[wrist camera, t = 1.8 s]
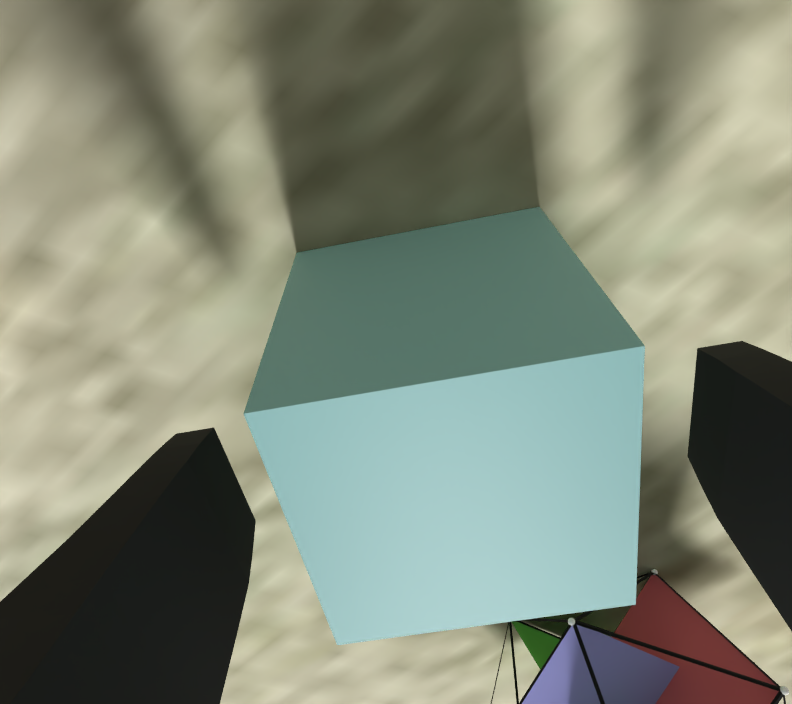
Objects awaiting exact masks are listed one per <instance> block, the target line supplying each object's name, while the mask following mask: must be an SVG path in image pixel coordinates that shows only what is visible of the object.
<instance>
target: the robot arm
mask: <svg viewBox="0 0 792 704" xmlns="http://www.w3.org/2000/svg"><path fill="white" fill-rule="evenodd" d="M688 458H689V460H690V462H691V464H692V467H693V469H694V471H695V473H696V475H697V477H698V479H699V482H700V484H701V486H702V488H703V490H704V492H705V494H706V496H707V498H708V500H709V502H710V504H711V506H712V508H713V510H714V512H715V514H716V516H717V518H718V519H719V521H720V523H721V524H722V526H723V527H724V529H725V530H726V532H727V534H728V535H729V537H730V538H731V540H732V541H733V543H734V544H735V546H736V547H737V549H738V550H739V552H740V554H741V555H742V557H743V558H744V560H745V561H746V563H747V564H748V566H749V567H750V569H751V570H752V572H753V573H754V575H755V576H756V578H757V579H758V581H759V582H760V584H761V585H762V587H763V589H764V590H765V592H766V593H767V595H768V596H769V598H770V599H771V601H772V602H773V604H774V605H775V607H776V608H777V610H778V611H779V613H780V614H781V616H782V617H783V619H784V620H785V622H786V623H787V625H788V626H789V628H790V629H791V631H792V362H791V361H789V360H786V359H784V358H782V357H780V356H777V355H775V354H773V353H771V352H768V351H766V350H763V349H761V348H759V347H756V346H753V345H751V344H748V343H746V342H743V341H739V342H733V343H727V344H721V345H715V346H709V347H703V348H698V349H697V360H696V371H695V381H694V392H693V403H692V414H691V425H690V436H689V447H688ZM254 532H255V518H254V516H253V514H252V512H251V510H250V507H249V505H248V503H247V501H246V498H245V496H244V494H243V492H242V489H241V487H240V485H239V483H238V480H237V478H236V476H235V474H234V471H233V469H232V467H231V465H230V462H229V460H228V458H227V456H226V454H225V451H224V449H223V447H222V445H221V442H220V440H219V438H218V436H217V433H216V431H215V429H214V428H209V429H203V430H197V431H190V432H184V433H178V434H175V435H174V436H173V437H172V438H171V439H170V440H168V441H167V442H166V443H165V444H164V445H163V446H162V447H161V448H160V449H159V450H157V451H156V452H155V453H154V454H153V455H152V456H151V457H150V458H149V459H148V460H147V461H146V462H145V463H144V464H143V465H142V466H141V467H140V468H139V469H138V470H137V471H136V472H135V473H134V474H133V475H132V476H131V477H130V478H129V479H128V480H127V481H126V482H125V483H124V484H123V485H122V486H121V487H120V488H119V489H118V490H117V491H116V492H115V493H114V494H113V495H112V496H111V497H110V498H109V499H108V500H107V501H106V502H105V503H104V504H103V505H102V506H101V507H100V508H99V509H98V510H97V511H96V512H95V513H94V514H93V515H92V516H91V517H90V518H89V519H88V520H87V521H86V522H85V523H84V524H83V525H82V526H81V527H80V528H79V529H78V530H77V531H76V532H75V533H74V534H73V535H72V536H71V537H70V538H69V539H67V540H66V541H65V542H64V543H63V544H62V545H61V546H60V547H59V548H58V549H57V550H56V551H55V552H54V553H53V554H51V555H50V556H49V557H48V558H47V559H46V560H45V561H44V562H43V563H42V564H41V565H40V566H38V567H37V568H36V569H35V570H34V571H33V572H32V573H31V574H30V575H29V576H28V577H27V578H26V579H24V580H23V581H22V582H21V583H20V584H19V585H18V586H17V587H16V588H15V589H14V590H13V591H12V592H10V593H9V594H8V595H7V596H6V597H5V598H4V599H3V600H2V601H1V602H0V704H220V700H221V696H222V692H223V688H224V684H225V680H226V676H227V672H228V668H229V664H230V660H231V656H232V652H233V647H234V643H235V639H236V635H237V631H238V627H239V623H240V619H241V614H242V610H243V606H244V602H245V597H246V593H247V589H248V584H249V577H250V569H251V561H252V553H253V542H254Z"/></svg>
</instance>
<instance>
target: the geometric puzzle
mask: <svg viewBox="0 0 792 704" xmlns="http://www.w3.org/2000/svg"><path fill="white" fill-rule="evenodd" d="M657 574H658V571H657V570H656V569H653V570H652V571H651V572H650V573H647V574H644V575H641V576H638V577H637V578H640V577H642V578H641V579H639V580H638V581H637V584H638V583H640V582H642V581H643V580H645V579H647V578H648V577H649V579H648V581H647V583H646V584H645V586H644V587H643V589H642V590H641V592H640V593H639V595H638V597H637V598H636V605H632V606H631V607H630V609H629V610H628V612H627V614H626V615H625V617H624V618H623V620H622V621H621V623H620V624H619V626H618V628H617V629H616V631H615V632H614V633H613V632H610V631H607V630H604V629H601V628H598V627H595V626H592V625H589V624H586V623H583V622H580V621H578V620H580V619H582V618H583V617H585V616H586V615H588V614H590V613H591V612H593V611H595V610H593V611H586V612H585V613H583V614H582V615H580V616H578V617H577V618H575V619H573V618H569V619H568V620H566V619H538V618H534V619H526V620H530V621H552V622H568V624H569V626H568V627H567V629H566V631H565V632H564V634H563V635H562V637H561V638H560V637H557V636H555V635H553V634H550V633H548V632H545V631H543V630H541V629H538V628H536V627H533V626H531V625H528V624H526V623H524V622H521V621H511V622H512V624H513V625H514V627H515V628H516V630H517V632H518V633H519V635H520V637H521V638H522V640H523V642H524V643H525V645H526V647H527V648H528V650H529V652H530V653H531V655H532V656H533V658H534V660H535V661H536V663H537V665H538V666H539V668H540V671H539V673H538V675H537V676H536V678H535V679H534V681H533V682H532V684H531V685H530V687H529V689H528V690H527V692H526V693H525V695H524V696H523V698H522V700H521V701H520V703H519V699H518V689H517V678H516V667H515V657H514V646H513V636H512V625H511V622H508V625H509V626H510V636H511V647H512V657H513V668H514V679H515V689H516V700H517V704H778V703H779V701H780V700H781V698H782V697H783V699H784V704H786V701H785V695H788V694H789V690H788V688H787V687H785V686H781V687H780V686H779V685H778V684H777V683H776V682H775V681H774V680H772V679H771V678H770V677H769V676H768V675H767V674H766V673H765V672H764V671H763V670H761V669H760V668H759V667H758V666H757V665H756V664H755V663H754V662H753V661H752V660H750V659H749V658H748V657H747V656H746V655H745V654H744V653H743V652H742V651H741V650H740V649H738V648H737V647H736V646H735V645H734V644H733V643H732V642H731V641H730V640H729V639H727V638H726V637H725V636H724V635H723V634H722V633H721V632H720V631H719V630H718V629H717V628H715V627H714V626H713V625H712V624H711V623H710V622H709V621H708V620H707V619H706V618H704V617H703V616H702V615H701V614H700V613H699V612H698V611H697V610H696V609H695V608H693V607H692V606H691V605H690V604H689V603H688V602H687V601H686V600H685V599H684V598H683V597H681V596H680V595H679V594H678V593H677V592H676V591H675V590H674V589H673V588H672V587H670V586H669V585H668V584H667V583H666V582H665V581H664V580H663V579H662V578H661V577H660V576H658V575H657ZM643 576H644V577H643ZM507 630H508V627H507ZM602 633H603V634H602ZM506 634H507V631H506ZM604 634H606V635H604ZM607 635H609V636H612V637H609V636H607ZM505 639H506V636H505ZM504 643H505V640H504ZM503 648H504V645H503ZM502 653H503V650H502ZM501 657H502V654H501ZM500 662H501V659H500ZM499 667H500V664H499ZM498 671H499V668H498ZM497 676H498V673H497ZM496 681H497V677H496ZM495 685H496V682H495ZM494 690H495V687H494ZM493 694H494V691H493ZM492 699H493V696H492ZM491 704H492V700H491Z"/></svg>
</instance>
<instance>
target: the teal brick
mask: <svg viewBox="0 0 792 704" xmlns="http://www.w3.org/2000/svg"><path fill="white" fill-rule="evenodd" d="M644 353H645V346H644V344H643V343H642V342H641V340H640V339H639V338H638V336H637V335H636V334H635V332H634V331H633V330H632V328H631V327H630V326H629V324H628V323H627V322H626V320H625V319H624V318H623V317H622V315H621V314H620V313H619V311H618V310H617V309H616V307H615V306H614V305H613V303H612V302H611V301H610V299H609V298H608V297H607V295H606V294H605V293H604V291H603V290H602V289H601V287H600V286H599V285H598V284H597V282H596V281H595V280H594V278H593V277H592V276H591V274H590V273H589V272H588V270H587V269H586V268H585V266H584V265H583V264H582V262H581V261H580V260H579V258H578V257H577V256H576V254H575V253H574V252H573V251H572V249H571V248H570V247H569V245H568V244H567V243H566V241H565V240H564V239H563V237H562V236H561V235H560V233H559V232H558V231H557V229H556V228H555V227H554V225H553V224H552V223H551V221H550V220H549V219H548V217H547V216H546V215H545V214H544V212H543V211H542V210H541V208H540V207H535V208H530V209H524V210H519V211H514V212H509V213H503V214H498V215H493V216H488V217H482V218H477V219H472V220H466V221H461V222H456V223H451V224H445V225H440V226H435V227H430V228H424V229H419V230H414V231H408V232H403V233H398V234H393V235H387V236H382V237H377V238H372V239H366V240H361V241H356V242H350V243H345V244H340V245H335V246H329V247H324V248H319V249H314V250H308V251H303V252H298V253H296V256H295V259H294V263H293V266H292V269H291V272H290V275H289V278H288V281H287V284H286V287H285V290H284V293H283V296H282V299H281V302H280V305H279V308H278V311H277V314H276V317H275V320H274V323H273V326H272V329H271V332H270V335H269V338H268V341H267V344H266V347H265V350H264V353H263V356H262V359H261V363H260V366H259V369H258V372H257V375H256V378H255V381H254V384H253V387H252V390H251V393H250V396H249V399H248V402H247V405H246V408H245V411H244V416H245V418H246V421H247V423H248V426H249V428H250V431H251V433H252V436H253V438H254V441H255V443H256V446H257V448H258V451H259V453H260V455H261V458H262V460H263V463H264V465H265V468H266V470H267V473H268V475H269V478H270V480H271V483H272V485H273V488H274V490H275V492H276V495H277V497H278V500H279V502H280V505H281V507H282V510H283V512H284V515H285V517H286V520H287V522H288V525H289V527H290V529H291V532H292V534H293V537H294V539H295V542H296V544H297V547H298V549H299V552H300V554H301V557H302V559H303V562H304V564H305V566H306V569H307V571H308V574H309V576H310V579H311V581H312V584H313V586H314V589H315V591H316V594H317V596H318V599H319V601H320V603H321V606H322V608H323V611H324V613H325V616H326V618H327V621H328V623H329V626H330V628H331V631H332V633H333V636H334V638H335V640H336V643H337V645H342V644H349V643H357V642H364V641H371V640H379V639H386V638H393V637H401V636H408V635H416V634H423V633H430V632H438V631H445V630H452V629H460V628H467V627H475V626H482V625H489V624H497V623H504V622H511V621H519V620H526V619H534V618H541V617H548V616H556V615H563V614H570V613H578V612H585V611H593V610H600V609H607V608H615V607H622V606H629V605H636V585H637V556H638V527H639V498H640V469H641V440H642V411H643V382H644Z"/></svg>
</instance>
